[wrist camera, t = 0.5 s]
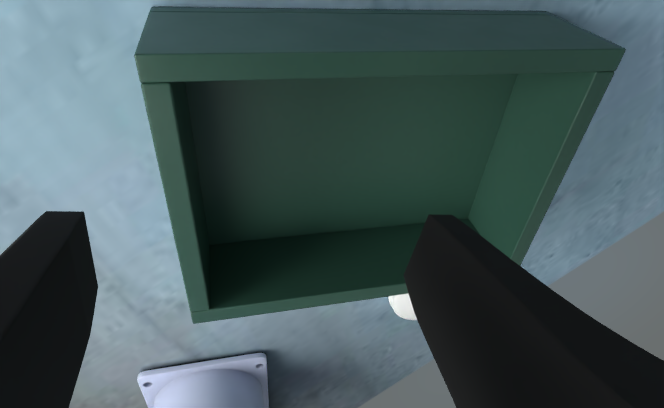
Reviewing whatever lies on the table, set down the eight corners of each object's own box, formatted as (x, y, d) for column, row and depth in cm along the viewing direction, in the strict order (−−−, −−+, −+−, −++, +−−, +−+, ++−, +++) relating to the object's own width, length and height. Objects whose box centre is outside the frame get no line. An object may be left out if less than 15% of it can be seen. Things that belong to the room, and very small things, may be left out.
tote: (471, 220, 25) (514, 279, 22) (194, 249, 22) (193, 324, 18) (546, 10, 18) (627, 49, 15) (150, 6, 15) (133, 54, 11)
